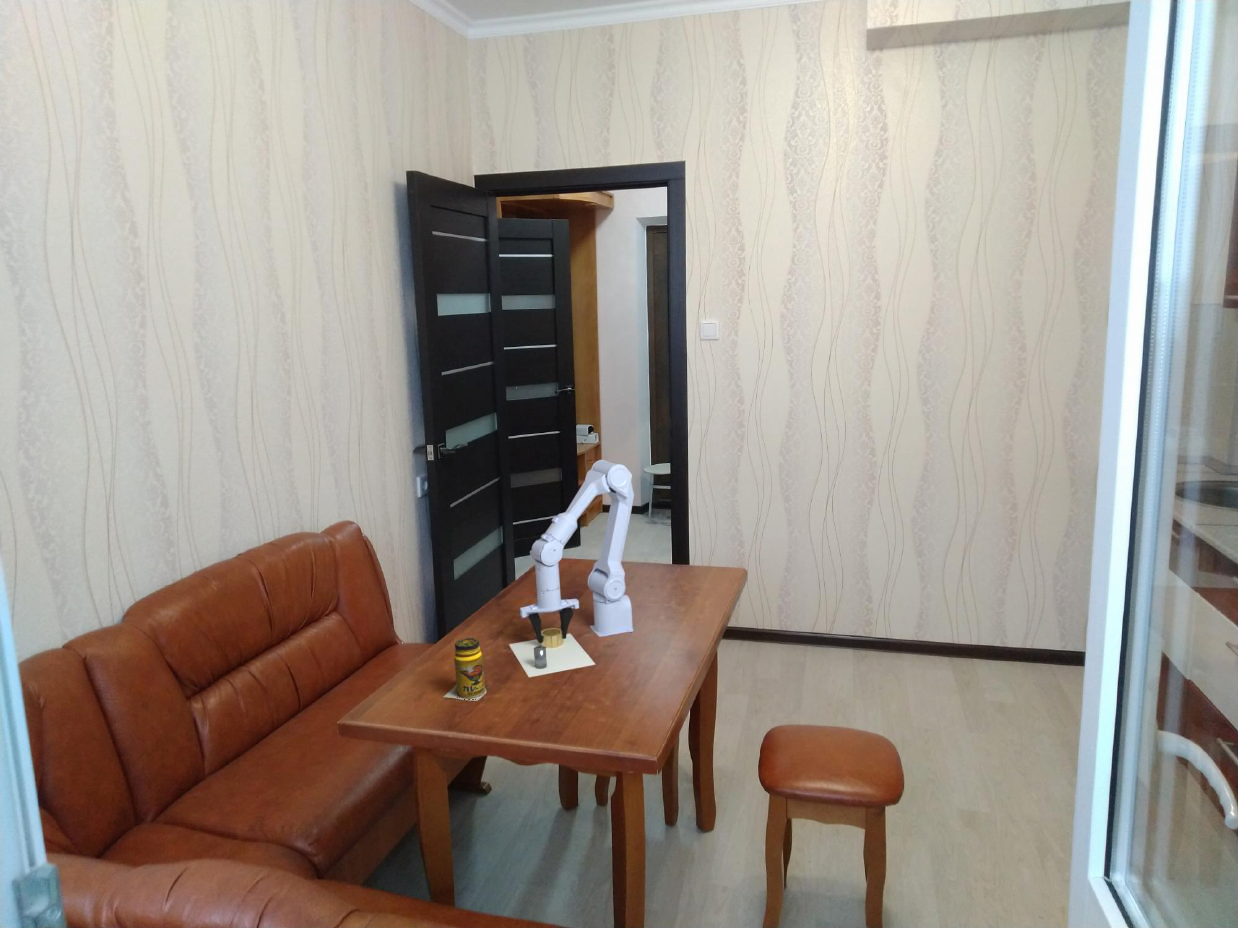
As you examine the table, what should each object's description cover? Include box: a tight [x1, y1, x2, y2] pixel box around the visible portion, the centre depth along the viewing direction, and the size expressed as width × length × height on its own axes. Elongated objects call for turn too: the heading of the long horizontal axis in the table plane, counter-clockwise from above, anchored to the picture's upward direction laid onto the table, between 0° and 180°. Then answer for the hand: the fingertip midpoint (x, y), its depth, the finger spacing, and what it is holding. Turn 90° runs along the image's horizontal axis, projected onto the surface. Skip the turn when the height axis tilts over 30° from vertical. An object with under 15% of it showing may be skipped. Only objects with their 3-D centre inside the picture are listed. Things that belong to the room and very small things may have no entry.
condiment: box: [443, 637, 488, 702], centre depth 187 cm, size 7×8×12 cm
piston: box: [534, 646, 547, 669], centre depth 198 cm, size 3×3×4 cm
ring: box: [540, 627, 564, 648], centre depth 212 cm, size 6×6×3 cm
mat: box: [508, 633, 596, 678], centre depth 206 cm, size 16×21×1 cm
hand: (551, 639), depth 212 cm, fingers closed on ring, 6 cm apart
